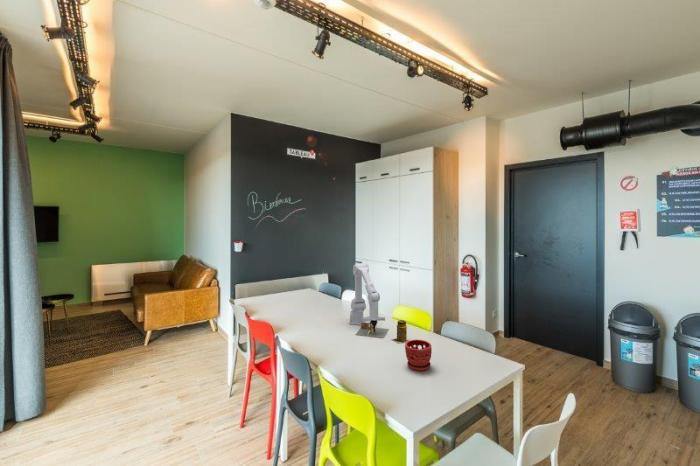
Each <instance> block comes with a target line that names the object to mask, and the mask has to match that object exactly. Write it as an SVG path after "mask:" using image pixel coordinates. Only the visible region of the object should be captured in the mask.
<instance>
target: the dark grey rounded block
mask: <svg viewBox="0 0 700 466" xmlns="http://www.w3.org/2000/svg"><path fill="white" fill-rule="evenodd" d="M370 324H372V323H371V321H369V322H365V323H364V322H361V325H360V328H361V329H369V327H370Z"/></svg>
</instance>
